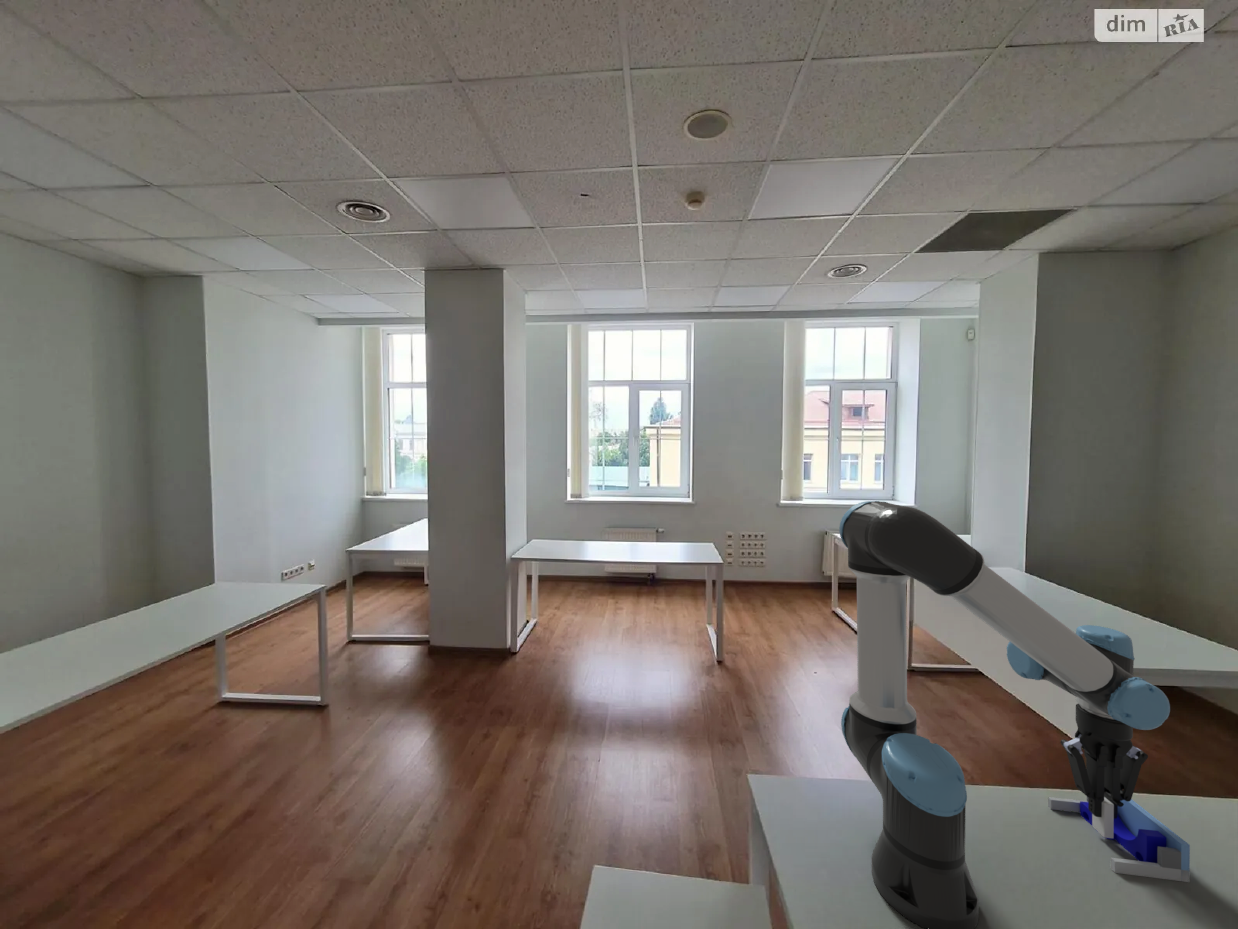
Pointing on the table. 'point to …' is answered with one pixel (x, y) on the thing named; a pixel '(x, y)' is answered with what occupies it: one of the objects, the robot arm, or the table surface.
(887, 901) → the robot arm
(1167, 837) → the blue wall bracket
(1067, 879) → the table surface
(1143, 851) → the blue arched bracket piece
